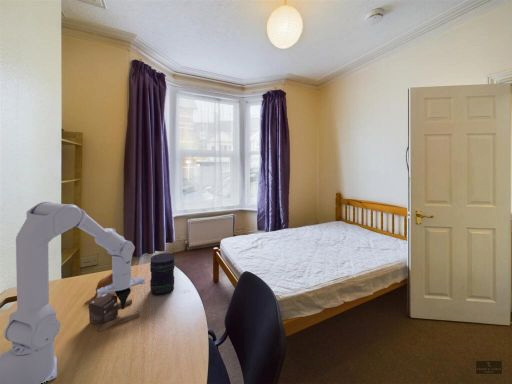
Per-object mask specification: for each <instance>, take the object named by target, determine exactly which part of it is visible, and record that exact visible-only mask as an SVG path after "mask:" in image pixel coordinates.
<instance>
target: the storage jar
mask: <svg viewBox="0 0 512 384" xmlns="http://www.w3.org/2000/svg"><path fill="white" fill-rule="evenodd" d="M175 262H176V261H175V254H174V253H168V252H165V253H158V254H155V255H153V256H151V257H150V264H149V268H150V269H149V271H150V281H149V283H150V284H149V288H150V294H151V295H152V296H155V297H162V296H167V295H169V294H171V293H173V292H174V290H175V275H174V274H175V273H174V272H175V267H176V266H175Z"/></svg>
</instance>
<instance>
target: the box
mask: <svg viewBox="0 0 512 384" xmlns="http://www.w3.org/2000/svg"><path fill="white" fill-rule="evenodd" d="M109 294H110V293H109ZM109 294H105V295H102V296H101V297H98V296H97V297H96V298H95V299H94V300H92V301H90V302H88V314H89V315H88V316H89V319H88V320H89V323H91V324H95V325H97V326H98V325H101V324H104V323H107V322H109V321H112V320H114V319H115V318H116V317H117V316H118V315H119V308H118V304H117V303H118V297H117V295H113V294H112V295H111V294H110V295H109Z"/></svg>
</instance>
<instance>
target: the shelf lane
mask: <svg viewBox="0 0 512 384" xmlns="http://www.w3.org/2000/svg"><path fill="white" fill-rule="evenodd" d="M117 304H118V309H119V308H121V303H120V301H118V302H117ZM131 304H133V299H132V298H129V299H128V298H127V300H126V303H125V306H128V305H131ZM138 317H140V312H139V311H137V310H136V311H135V312H132V313H129V314H126V315H123V316H121V317H118V318H116V319H115V318H114V319H112V320H111V321H109V322H107V323H104V324H101V325H98V324H97V330H98V332H101V331H104V330H107V329H109V328H112V327H114V326H117V325H120V324H123V323H126V322H129V321H130V320H133V319H135V318H138Z"/></svg>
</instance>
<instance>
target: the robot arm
mask: <svg viewBox="0 0 512 384" xmlns="http://www.w3.org/2000/svg"><path fill="white" fill-rule="evenodd" d="M74 227H76V228H78V229H80V230H82V231H83V232H85V233H86V234H89V235H90V236H92V237H94V243H95V244H97V245H99V246H100V247H101V248H103V249H105V250H106V252H107V254H108V255H111V266H112V270H111V271H112V273H113V284H111V285H108V286H106V287H104V288H103V287H102V288H100V289H98V290H97V297H101V296H102V295H105V294H108V293H109V294H111V293H115V296H117V299H118V300H119V302H120V303H121V307H120V308H121V310H124V309H125V306H126V305H125V303H126V300H128V298H129V296H130V294H131V291H132V289H131V287H135V286H138V285H144V284H146V283H145V277H144V276H141V277H137V278H132V259H133V254H134V251H135V249H136V246H135V245H134V243H133V242H132V240H126V239H125V237H124V236H123V235H120V234H119V233H117V232H116V231H117V230H116V229H115V228H112V227H110V228H109V227H106V228H104V227H103V226H101V225H100V224H99V223H98V222H97V221H96V220H94V219H93V218H92V217H91V216H90V215H88V214H87V213H86V210H83V209H82V208H80V206H78V205H76V204H73V203H72V204H71V203H69V204H68V203H67V204H66V203H56V202H51V201H41V202H39V203H37V204H36V205H34V206H33V207H31V208H29V209H28V210H27V211H26V218H25V221H24V222H23V224H22V226H21V228H20V229H19V230H18V232H17V234H16V238H15V259H16V260H15V264H16V267H15V268H16V271H15V272H16V310H14V311H13V312H11V313H10V314H9V315H8V323H7V325H6V326H5V329H4V331H3V332H4V333H3V336H4V339H5V340H7V341H8V342H11V348H10V349H8V350H6V351H4V352H2V353H0V384H41V383H43V382H45V383H47V382H46V381H48V382H50V381H52V380H54V379H56V378H57V377H58V357H57V356H56V355H55V339H56V337H57V336H58V335H59V332H60V330H61V323H60V321H59V320H58V319H57V312H56V311H55V309H54V307H52V305H51V304H50V291H49V290H50V287H49V286H50V281H49V278H50V277H49V273H50V271H49V243H50V242H51V241H52V240H53V239H54V238H56V237H58V236H60V235H61V234H64V233H65V232H68V231H69V230H71V229H73V228H74ZM43 384H44V383H43Z"/></svg>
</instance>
